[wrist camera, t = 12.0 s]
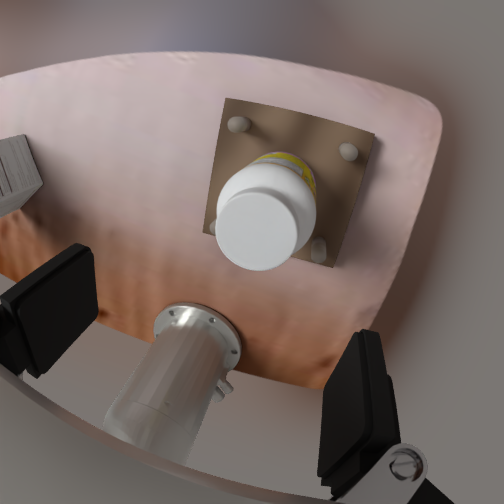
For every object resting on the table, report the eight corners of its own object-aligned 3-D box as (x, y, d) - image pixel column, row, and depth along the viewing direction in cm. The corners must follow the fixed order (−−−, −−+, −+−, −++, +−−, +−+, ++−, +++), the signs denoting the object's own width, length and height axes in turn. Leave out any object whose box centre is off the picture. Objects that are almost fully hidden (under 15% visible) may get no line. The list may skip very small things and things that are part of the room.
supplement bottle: (301, 228, 30) (288, 303, 18) (237, 204, 30) (187, 263, 19) (326, 165, 27) (335, 202, 15) (258, 140, 27) (214, 157, 15)
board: (371, 133, 26) (381, 135, 22) (332, 261, 32) (333, 282, 28) (229, 98, 27) (215, 95, 23) (207, 227, 33) (192, 243, 29)
